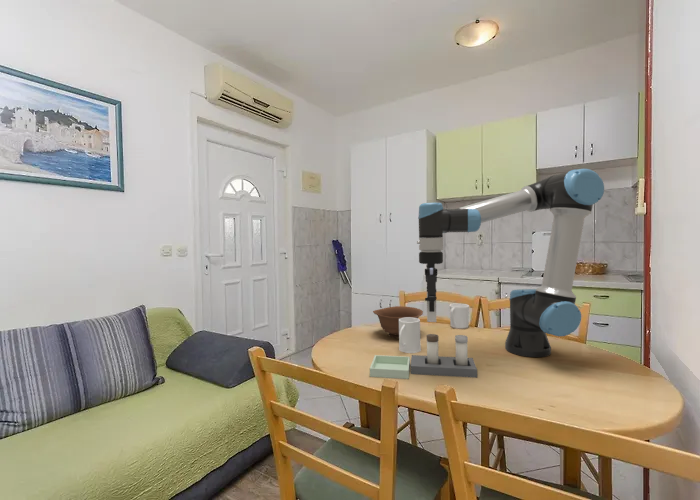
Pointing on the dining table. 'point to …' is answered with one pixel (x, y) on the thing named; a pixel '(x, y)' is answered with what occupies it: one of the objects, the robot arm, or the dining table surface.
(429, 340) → the cylinder
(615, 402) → the dining table surface
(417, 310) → the bowl
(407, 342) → the mug
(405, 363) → the tray
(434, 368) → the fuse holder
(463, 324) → the mug
